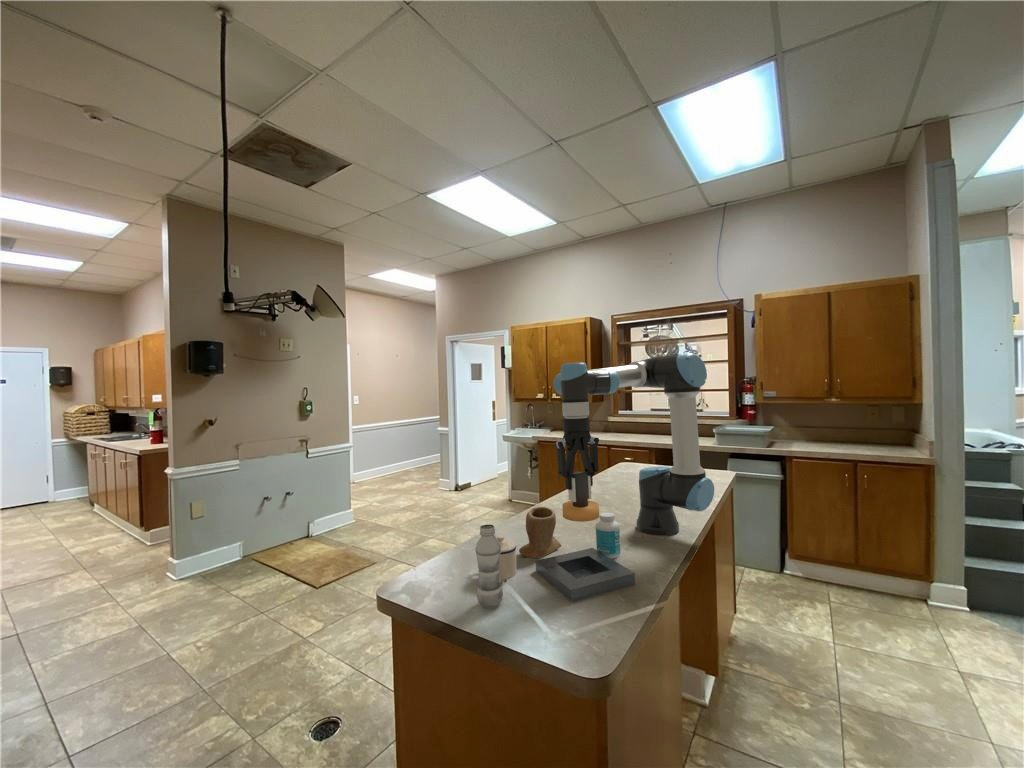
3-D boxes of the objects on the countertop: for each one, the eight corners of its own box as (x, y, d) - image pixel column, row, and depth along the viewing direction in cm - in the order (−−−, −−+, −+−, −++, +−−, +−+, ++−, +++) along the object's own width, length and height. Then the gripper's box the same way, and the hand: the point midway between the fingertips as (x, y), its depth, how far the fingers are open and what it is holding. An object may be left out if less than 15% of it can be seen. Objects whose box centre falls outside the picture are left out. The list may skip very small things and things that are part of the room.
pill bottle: (621, 562, 127) (619, 518, 127) (597, 561, 128) (595, 518, 129) (620, 552, 134) (618, 511, 134) (597, 551, 136) (595, 510, 136)
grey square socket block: (593, 560, 129) (592, 547, 129) (635, 587, 111) (634, 572, 111) (536, 574, 121) (535, 560, 121) (571, 606, 103) (570, 589, 103)
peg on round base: (586, 508, 123) (584, 468, 123) (606, 517, 114) (604, 474, 114) (556, 513, 119) (554, 472, 119) (575, 523, 110) (572, 479, 110)
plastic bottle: (477, 599, 108) (473, 523, 108) (502, 597, 108) (499, 521, 109) (477, 613, 101) (473, 531, 102) (504, 610, 102) (500, 529, 102)
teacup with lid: (523, 573, 122) (522, 534, 122) (504, 586, 115) (502, 544, 115) (492, 564, 129) (491, 527, 129) (473, 576, 122) (471, 536, 122)
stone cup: (541, 565, 127) (539, 517, 127) (514, 555, 136) (512, 510, 136) (571, 550, 138) (569, 505, 138) (544, 542, 146) (542, 500, 146)
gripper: (594, 414, 123) (598, 492, 123) (542, 418, 117) (546, 500, 116) (609, 415, 117) (613, 497, 116) (555, 420, 110) (559, 507, 109)
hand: (580, 499), depth 116 cm, fingers closed on peg on round base, 4 cm apart
